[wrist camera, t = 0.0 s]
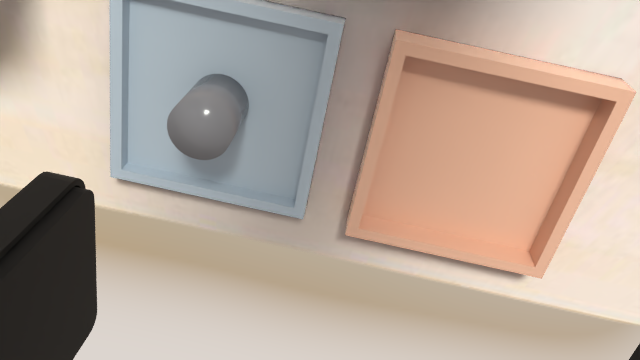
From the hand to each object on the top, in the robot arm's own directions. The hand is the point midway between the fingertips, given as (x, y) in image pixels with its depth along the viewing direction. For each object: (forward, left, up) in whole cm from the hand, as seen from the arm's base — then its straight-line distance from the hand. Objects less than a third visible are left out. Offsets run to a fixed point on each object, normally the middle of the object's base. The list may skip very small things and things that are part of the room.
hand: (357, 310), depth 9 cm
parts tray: (+13, -11, -37) cm, 40 cm away
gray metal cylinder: (+13, -11, -36) cm, 40 cm away
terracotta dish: (+13, +11, -37) cm, 40 cm away
